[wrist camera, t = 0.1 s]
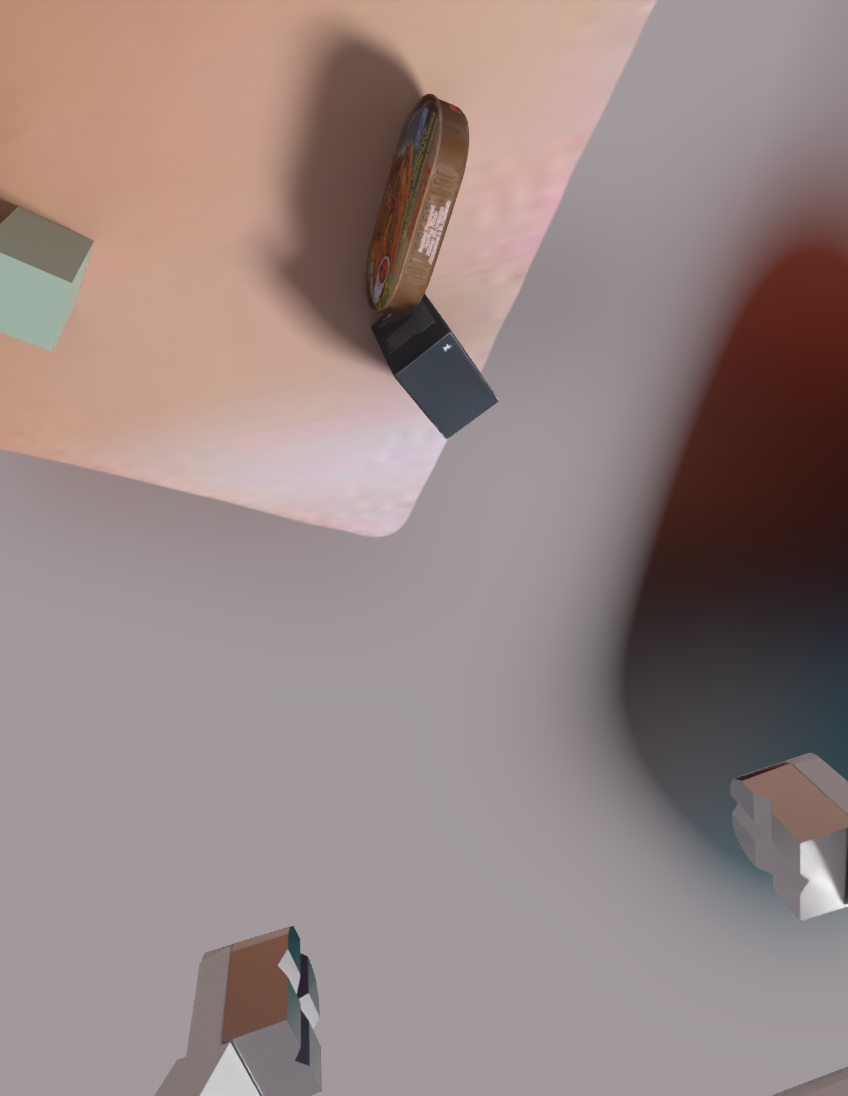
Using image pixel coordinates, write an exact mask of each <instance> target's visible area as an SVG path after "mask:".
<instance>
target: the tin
mask: <svg viewBox="0 0 848 1096" xmlns="http://www.w3.org/2000/svg"><path fill="white" fill-rule="evenodd" d="M468 148H469V128H468V122H467V119H466V117H465V115H464V114H463V112H462V111H461V110H460V109H459V108H458V107H456V106H454V105H452V104H450V103H447V102H445V101H442V100H440V99H437V97H436V96H435V95H433V94H427V95H425V96H423V97H422V98H421V99H420V100H419V102H418V103H417V104H416V105H415V107H414V108H413V110H412V112H411V113H410V115H409V117H408V119H407V121H406V124H405V126H404V128H403V131H402V134H401V137H400V140H399V143H398V146H397V150H396V154H395V157H394V161H393V165H392V168H391V172H390V176H389V179H388V183H387V187H386V191H385V195H384V198H383V202H382V206H381V210H380V213H379V217H378V220H377V224H376V228H375V232H374V235H373V239H372V243H371V247H370V251H369V257H368V264H367V272H366V293H367V299H368V303H369V306H370V308H371V309H372V310H373V311H375V312H384V313H388V314H392V315H396V316H406V315H408V314H410V313H411V312H412V311H413V310H414V309H415V308H416V307H417V306H418V304H419V303H420V301H421V299H422V297H423V295H424V293H425V291H426V289H427V287H428V284H429V281H430V278H431V275H432V272H433V269H434V266H435V263H436V260H437V257H438V254H439V251H440V248H441V245H442V241H443V239H444V236H445V232H446V229H447V226H448V223H449V220H450V217H451V214H452V211H453V207H454V204H455V201H456V198H457V195H458V192H459V188H460V185H461V182H462V179H463V175H464V171H465V167H466V162H467V156H468Z"/></svg>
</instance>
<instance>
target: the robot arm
mask: <svg viewBox="0 0 848 1096" xmlns="http://www.w3.org/2000/svg"><path fill="white" fill-rule="evenodd" d="M731 796H732V797H733V798H734V799H735V800H736V801H737V802H738V805H737V806H736V808H735V810H734V811H733V813H732V817H733V827H734V830H735V833H736V835H737V838H738V841H739V843H740V845H741V847H742V848H743V850H744V852H745V853H746V855H747V856H748V857H749V859H750V860H751V861H752V862H753V864H754V865H755V866H756V867H757V868H759V869H761V870H764V871H766V872H768V873H770V874H772V875H773V888H774V890H775V891H776V892H777V893H778V894H779V896H780V897H781V898H782V899H783V901H784V902H785V903H786V904H787V905H788V906H789V908H790V909H791V910H792V912H793V913H794V914H795V915H796V916H797V918H798V919H799V920H800V921H803V920H806V919H809V918H812V917H815V916H818V915H822V914H825V913H828V912H831V911H834V910H837V909H840V908H843V907H846V906H848V782H847V781H846V780H845V779H844V778H843V777H841V776H840V775H839V774H838V773H837V772H836V771H834V770H833V769H832V768H831V767H830V766H829V765H827V764H826V763H825V762H824V761H823V760H822V759H820V758H819V757H818V756H816V755H814V754H812V753H809V754H805V755H802V756H799V757H796V758H793V759H790V760H787V761H785V762H780V763H777V764H774V765H771V766H768V767H766V768H762V769H760V770H757V771H754V772H751V773H748V774H745V775H742V776H739V777H737V778H734V779H733V781H732V783H731ZM319 1018H320V1014H319V998H318V991H317V985H316V979H315V975H314V972H313V968H312V965H311V963H310V960H309V958H308V957H307V956H306V955H304V954H301V953H300V938H299V936H298V934H297V932H296V930H295V928H294V926H291V927H287V928H284V929H281V930H277V931H274V932H270V933H268V934H264V935H260V936H257V937H254V938H251V939H248V940H244V941H241V942H237V943H234V944H232V945H228V946H226V947H222V948H219V949H216V950H213V951H209V952H206V953H204V956H203V958H202V961H201V962H200V966H199V973H198V979H197V986H196V993H195V1000H194V1006H193V1013H192V1020H191V1027H190V1033H189V1040H188V1048H187V1054H186V1057H184V1058H181V1059H178V1060H177V1061H176V1062H175V1064H174V1066H173V1067H172V1069H171V1071H170V1072H169V1073H168V1075H167V1077H166V1078H165V1080H164V1081H163V1083H162V1084H161V1086H160V1088H159V1089H158V1091H157V1092H156V1094H155V1096H311V1095H313V1094H316V1093H318V1092H321V1091H322V1080H321V1079H322V1078H321V1046H320V1044H319V1042H318V1039H317V1037H316V1035H315V1033H314V1031H313V1030H314V1027H315V1026H316V1024H317V1022H318V1020H319ZM771 1096H848V1067H845V1068H843V1069H840V1070H837V1071H835V1072H832V1073H829V1074H827V1075H824V1076H821V1077H819V1078H816V1079H814V1080H811V1081H808V1082H806V1083H803V1084H800V1085H798V1086H795V1087H792V1088H790V1089H787V1090H784V1091H782V1092H779V1093H776V1094H774V1095H771Z"/></svg>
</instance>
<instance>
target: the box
mask: <svg viewBox="0 0 848 1096" xmlns="http://www.w3.org/2000/svg"><path fill="white" fill-rule="evenodd" d="M371 329H372V331H373V333H374V335H375V337H376V339H377V341H378V343H379V345H380V348H381V350H382V352H383V354H384V356H385V358H386V361H387V363H388V365H389V367H390V369H391V371H392V373H393V375H394V377H395V378H396V380H397V381H398V382H399V383H400V385H401V386H402V387H403V388H404V389H405V390H406V392H407V393H408V394H409V395H410V396H411V398H412V399H413V400H414V401H415V403H416V404H417V405H418V406H419V407H420V409H421V410H422V411H423V412H424V413H425V415H426V416H427V417H428V418H429V419H430V421H431V422H432V423H433V424H434V425H435V427H436V428H437V429H438V430H439V431H440V433H441V434H442V435H443V436H444V438H445V439H448V438H449V437H451V436H452V435H453V434H455V433H456V432H458V431H459V430H460V429H462V428H463V427H464V426H466V425H467V424H469V423H470V422H471V421H473V420H474V419H475V418H477V417H478V416H479V415H481V414H482V413H483V412H485V411H486V410H488V409H489V408H490V407H492V406H493V405H495V404H496V403H497V402H498V401H499V398H498V397H497V396H496V395H495V393H494V392H493V390H492V389H491V388H490V386H489V385H488V383H487V382H486V380H485V379H484V378H483V376H482V375H481V373H480V372H479V370H478V369H477V367H476V366H475V364H474V363H473V361H472V360H471V358H470V357H469V355H468V354H467V353H466V351H465V350H464V348H463V347H462V345H461V344H460V343H459V341H458V340H457V338H456V337H455V335H454V334H453V332H452V331H451V330H450V328H449V327H448V325H447V324H446V322H445V321H444V320H443V318H442V317H441V315H440V314H439V313H438V311H437V310H436V308H435V307H434V306H433V304H432V303H431V302H430V300H429V299H428V298H427V296H426V295H425V293H424V295H423V297H422V299H421V301H420V303H419V304H418V306H417V307H416V308H415V309H414V310H413V311H412V312H411V313H410V314H408V315H406V316H396V315H392V314H388V313H386V314H385V315H384V316H382V317H381V318H380V319H379V320H377V321H376V322H375V323H373V324H372V326H371Z"/></svg>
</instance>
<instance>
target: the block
mask: <svg viewBox="0 0 848 1096" xmlns="http://www.w3.org/2000/svg"><path fill="white" fill-rule="evenodd" d="M93 243H94V241H92V240H90V239H88V238H86V237H84V236H82V235H79V234H77V233H75V232H73V231H71V230H69V229H66V228H64V227H62V226H60V225H58V224H56V223H54V222H51V221H49V220H47V219H45V218H43V217H41V216H38V215H36V214H34V213H32V212H30V211H28V210H26V209H23V208H21V207H19V206H18V207H17V208H16V209H15V210H14V211H13V212H12V213H11V214H10V215H9V216H8V217H7V218H6V219H5V220H4V221H3V222H2V223H1V224H0V332H1V333H3V334H6V335H9V336H11V337H14V338H17V339H19V340H22V341H25V342H27V343H30V344H33V345H35V346H38V347H41V348H43V349H46V350H49V351H51V352H52V351H53V349H54V347H55V345H56V343H57V341H58V339H59V337H60V335H61V333H62V331H63V328H64V326H65V324H66V322H67V320H68V318H69V316H70V314H71V312H72V310H73V308H74V306H75V303H76V301H77V298H78V294H79V291H80V287H81V284H82V280H83V277H84V274H85V270H86V267H87V263H88V260H89V256H90V253H91V249H92V246H93Z"/></svg>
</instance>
